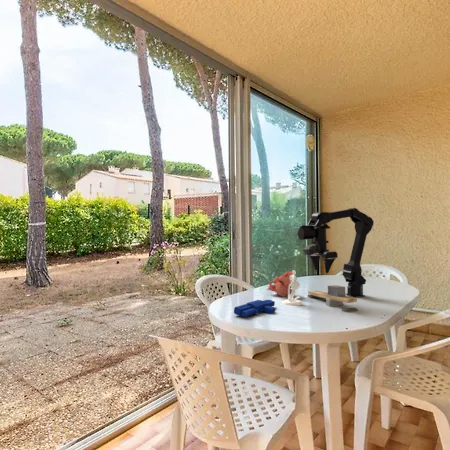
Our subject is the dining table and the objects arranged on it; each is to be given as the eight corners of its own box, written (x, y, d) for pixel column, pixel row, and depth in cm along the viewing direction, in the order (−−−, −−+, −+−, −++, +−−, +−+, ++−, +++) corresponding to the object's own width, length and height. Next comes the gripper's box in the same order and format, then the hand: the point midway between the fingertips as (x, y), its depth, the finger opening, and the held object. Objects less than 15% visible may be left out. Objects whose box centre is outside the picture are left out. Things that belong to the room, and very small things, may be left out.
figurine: (302, 305, 149) (302, 271, 148) (282, 305, 150) (281, 271, 150) (301, 301, 157) (301, 268, 157) (282, 300, 159) (282, 268, 159)
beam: (317, 293, 167) (317, 290, 168) (357, 301, 139) (357, 298, 139) (308, 294, 166) (308, 291, 166) (346, 302, 137) (346, 299, 137)
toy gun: (284, 302, 143) (265, 295, 150) (252, 312, 128) (232, 304, 134) (283, 311, 144) (264, 304, 151) (251, 323, 128) (231, 314, 135)
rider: (335, 294, 152) (335, 285, 152) (345, 296, 145) (345, 286, 146) (328, 295, 151) (327, 285, 151) (337, 296, 144) (337, 287, 144)
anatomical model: (294, 269, 165) (264, 269, 170) (294, 295, 161) (262, 294, 166) (297, 273, 174) (268, 273, 179) (296, 298, 170) (267, 297, 175)
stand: (319, 295, 168) (319, 291, 168) (359, 310, 139) (359, 304, 139) (306, 296, 166) (306, 292, 166) (344, 312, 137) (344, 306, 137)
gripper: (295, 238, 168) (296, 270, 168) (315, 240, 150) (317, 276, 150) (315, 237, 171) (316, 268, 171) (337, 239, 153) (339, 273, 153)
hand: (321, 271), depth 161 cm, fingers open, 9 cm apart
